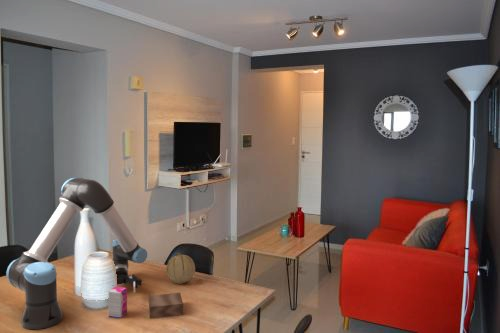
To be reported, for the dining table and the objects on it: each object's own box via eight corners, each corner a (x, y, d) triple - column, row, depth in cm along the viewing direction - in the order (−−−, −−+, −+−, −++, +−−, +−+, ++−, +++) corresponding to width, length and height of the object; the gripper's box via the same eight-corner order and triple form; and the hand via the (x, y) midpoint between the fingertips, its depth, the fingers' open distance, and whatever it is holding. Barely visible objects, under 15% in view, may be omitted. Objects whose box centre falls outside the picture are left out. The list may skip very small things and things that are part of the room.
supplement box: (121, 318, 177) (120, 292, 176) (108, 317, 178) (107, 291, 177) (127, 312, 182) (127, 287, 181) (115, 311, 184) (114, 286, 182)
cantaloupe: (182, 290, 207) (182, 260, 205) (160, 284, 214) (160, 255, 213) (201, 280, 219) (201, 253, 218) (179, 275, 227) (179, 248, 225)
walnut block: (149, 318, 177) (149, 307, 177) (148, 306, 189) (148, 295, 188) (183, 314, 181) (183, 303, 181) (180, 303, 193) (180, 292, 192)
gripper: (146, 279, 213) (147, 296, 193) (93, 284, 206) (89, 302, 186) (145, 265, 212) (147, 280, 192) (93, 269, 206) (88, 285, 185)
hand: (118, 291), depth 189 cm, fingers open, 13 cm apart
